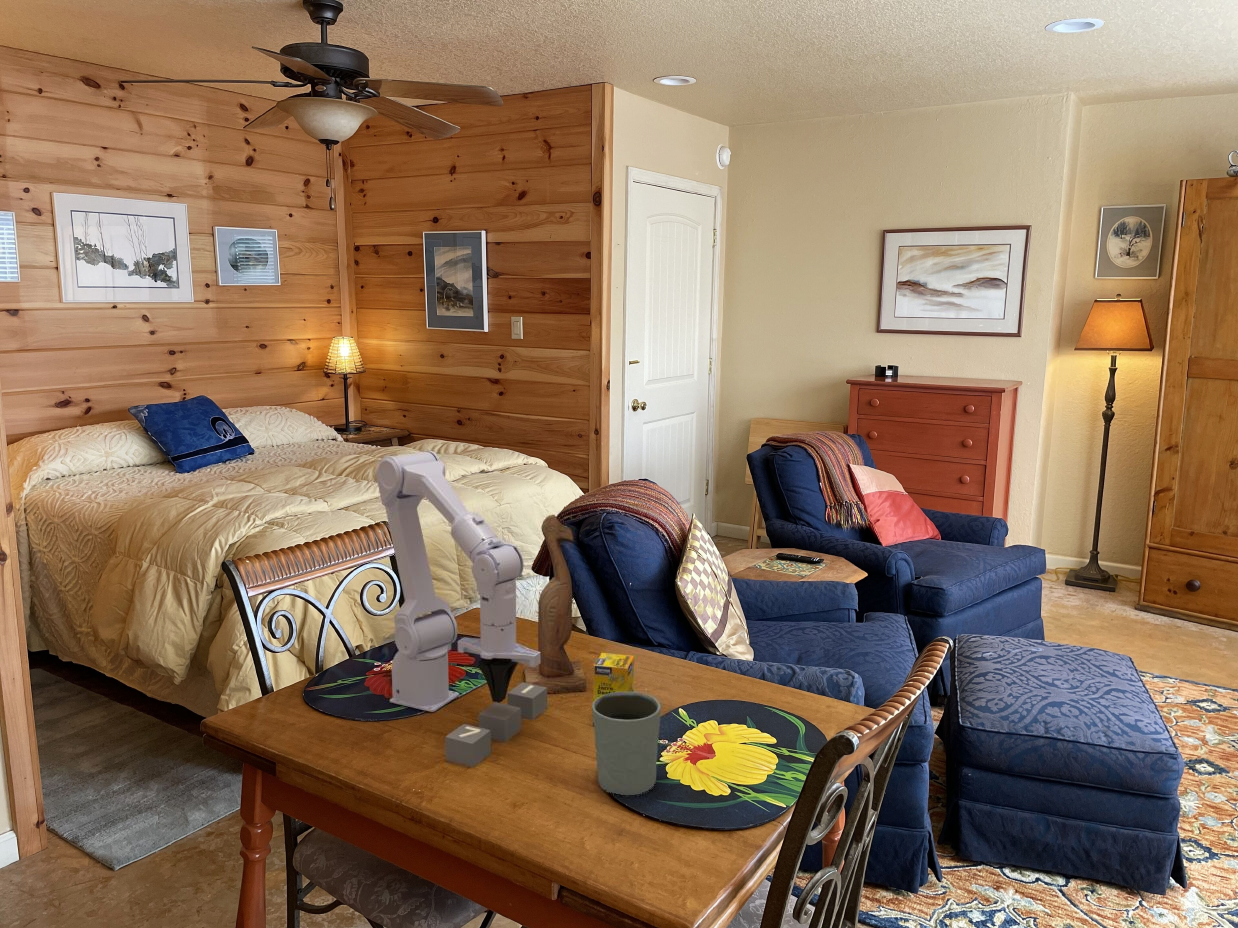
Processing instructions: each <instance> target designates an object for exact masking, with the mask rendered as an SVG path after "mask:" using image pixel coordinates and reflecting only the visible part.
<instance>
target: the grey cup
mask: <svg viewBox="0 0 1238 928" xmlns="http://www.w3.org/2000/svg"><path fill="white" fill-rule="evenodd" d="M661 706H662V705H661V703H660V702H659V700H658V699H657V698H655V697H654V696H651V695H650V694H646V693H642V692H638V691H633V692H614V693H609V694H606V695H603V696H601V697H599V698H597V699H596V700H595V701H594V702H593V701H592V705H591V712H592V723H593V722H594V727H593V730H594V731H593V732H594V745H595V750H596V752H595V753H596V755H595V757H596V767H597V781H598V785H599V787H600V788H601V789H602V790H603V791H605V790H606V791H605V792H606V793H609V792H610V793H611V792H612V793H616V794H621V795H635V794H640V793H642V792H645V791H648V790H649V789H651V788H652V787H653V786H654V787H655V785H654V784H656V781H657V758H658V752H659V750H658V742H659V733H660V724H661V712H662V711H661V710H662V709H661V708H662V707H661ZM654 787H653V788H654ZM653 788H652V789H653ZM652 789H651V790H652ZM648 792H649V791H648ZM610 793H609V794H610Z"/></svg>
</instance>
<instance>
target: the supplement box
mask: <svg viewBox="0 0 1238 928" xmlns="http://www.w3.org/2000/svg"><path fill="white" fill-rule="evenodd" d="M592 670H593V675H592V676H593V679H592V680H593V682H592V683H593V685H592V687H593V688H592V689H593V691H592V693H593V695H592V703H593V702H594V701H595V700H596V699H597V698H599V697H601V696H603V695H606V694H609V693H614V692H634V681H635V680H634V679H635V673H634V672H635V656H634V655H629V654H615V653H609V652H608V653H607V652H601V653H600V655H599V657H598V659H597V660H596V661H595V663H594V664H593V669H592ZM592 727H593V728H594V722H593V721H592Z"/></svg>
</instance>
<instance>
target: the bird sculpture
mask: <svg viewBox="0 0 1238 928" xmlns="http://www.w3.org/2000/svg"><path fill="white" fill-rule="evenodd" d="M540 529H541V532H542V535H543V537H544V540H545V543H546V546H547V549H548V551H549V552H548V553H549V555H550V560H551V563H552V567H553V576H554V577H552V578H551V580H549V581H548V582H547V583H546V585H544V588H543V589H542V590H541V593H540V596H539V597H538V609H537V610H538V611H537V614H538V615H537V617H538V618H537V645H538V646H537V651H538V652H541V663H540V664H539V665H537V666H536V667H530V666H529V664H524V663H522V668H523V671H522V672H523V673H524V675H525V678H524V679H525V683H528V684H533V685H538V686H542V687H547V694H548V695H550V694H554V693H555V694H560V693H561V694H563V693H564V694H567V693H577V692H586V689H587V685H586V684H587V680H586V679H587V678H586V676H585V673H584V669H583V668H582V667H581V666H582V663H581V660H580V659H577V660H576V659H575V660H571V659H570V658H569V656H568V653H567V651H566V649H565V645H566V644H567V643H568V642H569V640H570V638H571V635H572V629H573V588H572V585H573V584H572V578H571V574H570V570H569V567H568V565H567V561H566V560H565V557H564V554H563V551H562V548H561V545H560V544H561V542H562V543H563V542H567V543H572V544H573V543H574V536H573V532H572V530H571V528H570V527H568V526H566V525H564V524H562V522H561V521H559V520H558V518H557V516H556V515H555V514H549V515H548V516H546V517H545V519H544V520H543V521H542V524H541V527H540Z"/></svg>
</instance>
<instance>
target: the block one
mask: <svg viewBox="0 0 1238 928" xmlns="http://www.w3.org/2000/svg"><path fill="white" fill-rule="evenodd" d="M506 698H507V704H506V705H510V706H515V707H519V708H521V719H528V720H531V721H533V720H535V719H536V718H538V717H539V716H540V715H541V714H543V713H544V712H545V711H547V709H548V693H547V687H542V686H538V685H533V684H528V683H526V682H521V683H519V684H518V685H517V686H515V687H514V688H512V689H511V690H510V691H507V694H506Z"/></svg>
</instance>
